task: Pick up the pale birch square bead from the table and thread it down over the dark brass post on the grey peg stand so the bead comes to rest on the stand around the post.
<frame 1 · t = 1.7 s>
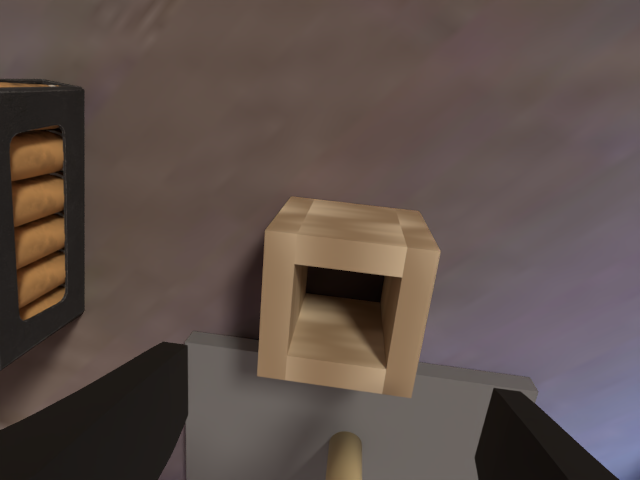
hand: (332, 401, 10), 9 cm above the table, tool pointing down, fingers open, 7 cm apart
bead: (347, 263, 18), on the table
ammunition clip: (67, 205, 19), on the table
grey peg stand: (346, 429, 21), on the table
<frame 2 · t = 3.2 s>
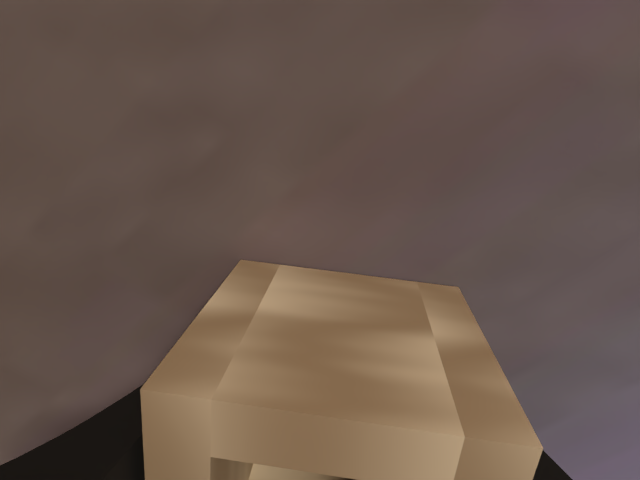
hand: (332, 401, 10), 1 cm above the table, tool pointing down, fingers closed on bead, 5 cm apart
bead: (336, 365, 11), on the table, touching gripper
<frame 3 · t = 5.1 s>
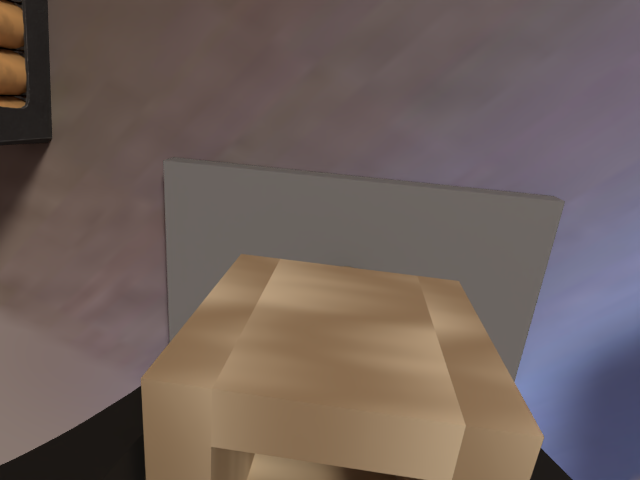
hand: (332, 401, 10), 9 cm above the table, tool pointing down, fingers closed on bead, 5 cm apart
bead: (336, 360, 11), point 8 cm above the table, touching gripper
ammunition clip: (29, 5, 17), on the table
grey peg stand: (346, 274, 19), on the table
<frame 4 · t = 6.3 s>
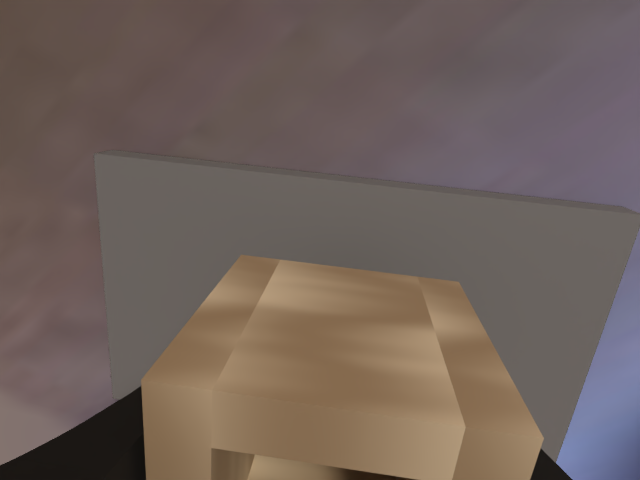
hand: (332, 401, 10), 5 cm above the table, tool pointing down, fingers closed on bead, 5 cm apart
bead: (336, 360, 11), point 3 cm above the table, touching gripper
grey peg stand: (342, 305, 14), on the table
when the fingers open (5 cm above the table, at t = 7.2 s): bead drops 2 cm, resting on grey peg stand.
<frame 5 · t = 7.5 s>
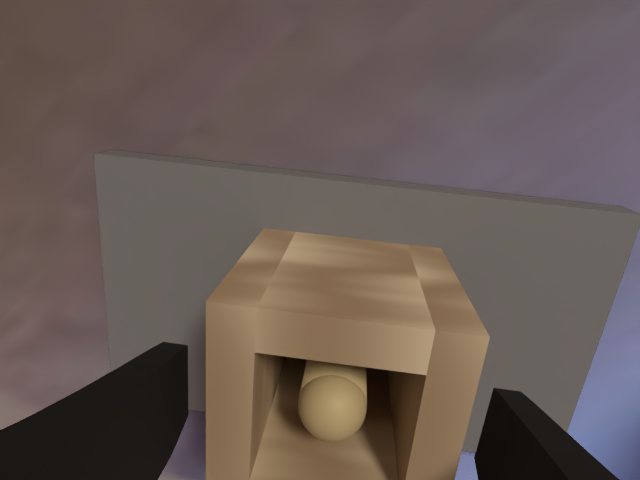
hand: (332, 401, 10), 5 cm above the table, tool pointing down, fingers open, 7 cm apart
bead: (341, 316, 13), point 1 cm above the table, touching grey peg stand
grey peg stand: (342, 305, 14), on the table
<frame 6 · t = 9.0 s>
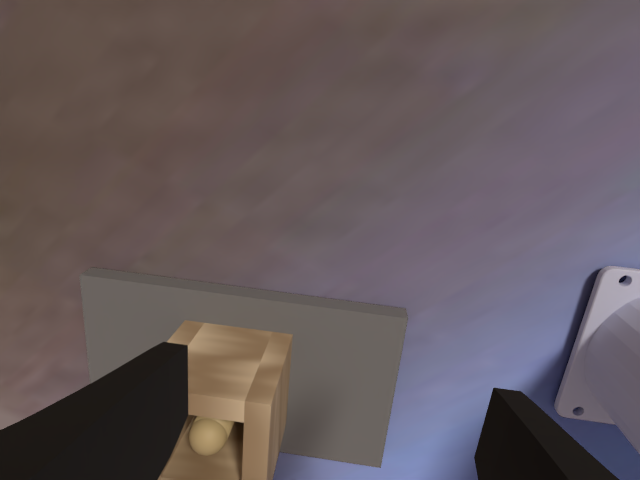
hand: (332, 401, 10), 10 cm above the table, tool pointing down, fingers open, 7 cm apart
bead: (237, 373, 21), point 1 cm above the table, touching grey peg stand
grey peg stand: (241, 363, 22), on the table
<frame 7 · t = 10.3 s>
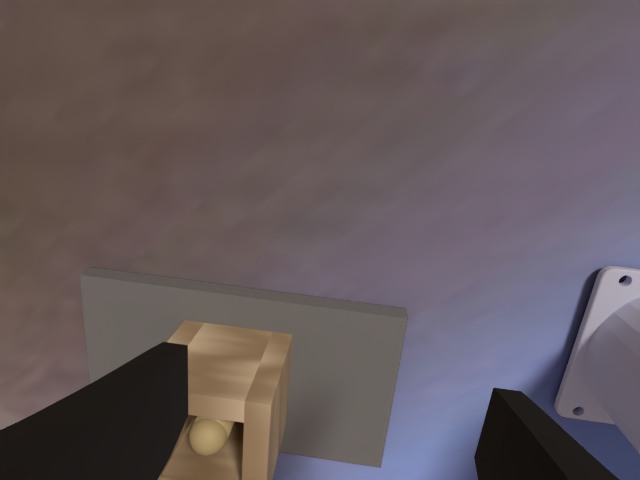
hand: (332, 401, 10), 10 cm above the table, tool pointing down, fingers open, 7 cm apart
bead: (237, 373, 21), point 1 cm above the table, touching grey peg stand
grey peg stand: (241, 363, 22), on the table
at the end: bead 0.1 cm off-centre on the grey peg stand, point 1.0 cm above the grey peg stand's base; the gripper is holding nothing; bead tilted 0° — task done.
